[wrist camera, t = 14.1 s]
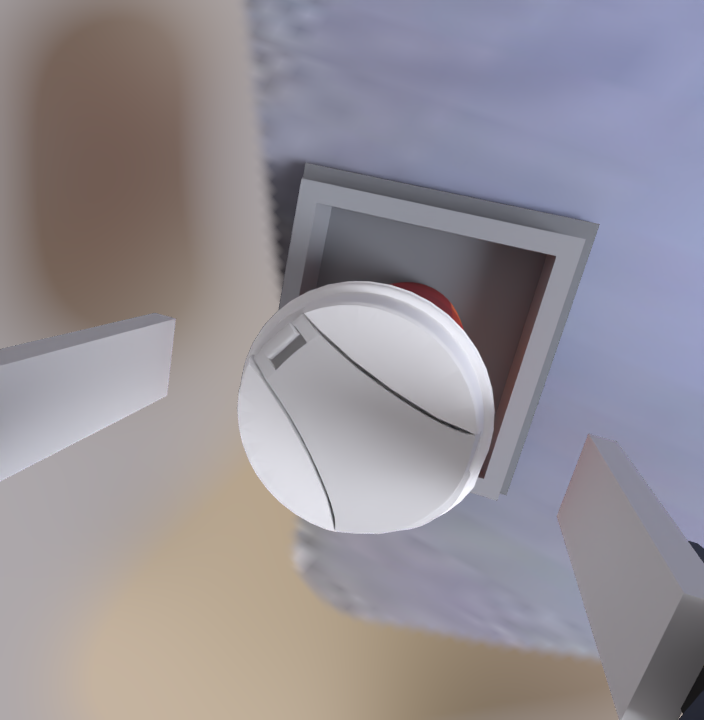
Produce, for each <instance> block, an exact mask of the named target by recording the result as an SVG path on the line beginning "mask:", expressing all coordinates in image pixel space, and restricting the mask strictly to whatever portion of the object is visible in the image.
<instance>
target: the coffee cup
mask: <svg viewBox="0 0 704 720" xmlns="http://www.w3.org/2000/svg"><path fill="white" fill-rule="evenodd" d="M237 411H238V425H239V430H240V435H241V439H242V444H243V447H244V449H245V452H246V454H247V457H248V459H249V462H250V463H251V465H252V467H253V469H254V471H255V472H256V474H257V476H258V477H259V479H260V480H261V481H262V483H263V484H264V485H265V486H266V488H267V489H268V490H269V492H270V493H272V495H274V497H275V498H276V499H277V500H278V501H279V502H280V503H282V504H283V505H284V506H285V507H287V508H288V509H289V510H291V511H292V512H293V513H294V514H296V515H298V516H300V517H301V518H303V519H305V520H306V521H308V522H310V523H312V524H315V525H317V526H319V527H322V528H324V529H327V530H331V531H336V532H346V533H357V534H381V533H387V532H394V531H398V530H407V529H413V528H416V527H420V526H422V525H424V524H426V523H428V522H430V521H432V520H433V519H435V518H437V517H439V516H441V515H442V514H444V513H446V512H447V511H449V510H450V509H451V508H453V507H454V506H455V505H457V504H458V503H459V502H461V501H462V500H463V498H464V497H465V496H466V495H467V494H468V493H469V492H470V491H471V490H472V489H473V488H474V486H475V483H476V481H477V478H478V475H479V473H480V470H481V467H482V465H483V463H484V460H485V458H486V456H487V453H488V451H489V448H490V444H491V439H492V435H493V431H494V414H495V408H494V399H493V391H492V386H491V383H490V379H489V376H488V373H487V369H486V367H485V365H484V363H483V361H482V358H481V356H480V354H479V352H478V350H477V348H476V347H475V345H474V344H473V343H472V341H471V340H470V338H469V337H468V336H467V334H466V333H465V331H464V329H463V326H462V323H461V320H460V318H459V316H458V313H457V311H456V310H455V308H454V306H453V305H452V304H451V302H450V301H449V300H448V299H447V298H446V297H445V296H444V295H443V294H441V293H440V292H439V291H437V290H435V289H434V288H432V287H429V286H427V285H424V284H420V283H414V282H400V283H392V284H383V283H377V282H371V281H347V282H341V283H335V284H328V285H325V286H322V287H319V288H316V289H314V290H311V291H308V292H306V293H304V294H302V295H300V296H299V297H297V298H295V299H293V300H291V301H290V302H289V303H287V304H286V305H285V306H284V307H282V308H281V309H280V310H278V311H277V312H276V313H275V314H274V315H273V316H272V317H271V318H270V320H269V321H268V322H267V323H266V324H265V325H264V326H263V328H262V329H261V331H260V332H259V334H258V335H257V337H256V338H255V340H254V342H253V344H252V346H251V348H250V351H249V353H248V355H247V358H246V361H245V365H244V369H243V373H242V379H241V384H240V388H239V395H238V406H237Z"/></svg>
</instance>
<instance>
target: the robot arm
mask: <svg viewBox="0 0 704 720" xmlns="http://www.w3.org/2000/svg"><path fill="white" fill-rule="evenodd" d="M175 321H176V319H175V318H172V317H168V316H164V315H161V314H157V313H152V314H148V315H144V316H140V317H135V318H131V319H127V320H122V321H118V322H114V323H110V324H105V325H101V326H97V327H93V328H88V329H84V330H80V331H76V332H71V333H67V334H63V335H59V336H54V337H50V338H45V339H41V340H37V341H33V342H28V343H24V344H20V345H15V346H11V347H7V348H2V349H0V481H2V480H4V479H6V478H8V477H10V476H12V475H14V474H16V473H18V472H20V471H22V470H24V469H26V468H27V467H29V466H31V465H33V464H35V463H37V462H39V461H41V460H43V459H45V458H47V457H49V456H51V455H53V454H54V453H57V452H59V451H61V450H62V449H64V448H66V447H68V446H70V445H72V444H74V443H76V442H78V441H80V440H82V439H84V438H86V437H88V436H90V435H92V434H94V433H95V432H97V431H99V430H101V429H103V428H105V427H107V426H109V425H111V424H113V423H115V422H117V421H119V420H121V419H123V418H125V417H127V416H128V415H131V414H132V413H134V412H136V411H138V410H140V409H142V408H144V407H146V406H148V405H150V404H152V403H154V402H156V401H158V400H160V399H162V398H164V397H166V396H167V392H168V383H169V374H170V364H171V357H172V348H173V339H174V330H175ZM557 518H558V521H559V525H560V528H561V531H562V535H563V538H564V541H565V544H566V548H567V551H568V554H569V557H570V561H571V564H572V567H573V570H574V574H575V577H576V580H577V584H578V587H579V590H580V593H581V597H582V600H583V603H584V606H585V610H586V613H587V616H588V619H589V623H590V626H591V629H592V633H593V636H594V639H595V642H596V646H597V649H598V652H599V655H600V659H601V662H602V665H603V668H604V672H605V675H606V678H607V682H608V685H609V688H610V691H611V695H612V698H613V701H614V704H615V708H616V711H617V714H618V717H619V720H678V719H679V720H704V548H702V547H701V546H700V545H699V544H697V543H694V542H691V541H688V540H687V539H686V538H685V536H684V535H683V533H682V532H681V531H680V529H679V528H678V526H677V525H676V524H675V522H674V521H673V519H672V518H671V517H670V515H669V514H668V512H667V511H666V510H665V508H664V507H663V505H662V504H661V503H660V501H659V500H658V498H657V497H656V496H655V494H654V493H653V491H652V490H651V489H650V487H649V486H648V484H647V483H646V482H645V480H644V479H643V477H642V476H641V475H640V473H639V472H638V470H637V469H636V468H635V466H634V465H633V463H632V462H631V461H630V459H629V458H628V456H627V455H626V454H625V452H624V451H623V450H622V448H621V447H620V445H619V444H618V443H617V441H613V440H610V439H606V438H602V437H599V436H595V435H592V434H588V437H587V439H586V442H585V444H584V447H583V450H582V452H581V455H580V457H579V460H578V463H577V465H576V468H575V470H574V473H573V476H572V478H571V481H570V483H569V486H568V489H567V491H566V494H565V496H564V499H563V502H562V504H561V507H560V509H559V512H558V515H557ZM681 713H683V715H682V716H681V717H680V715H681ZM679 717H680V718H679Z"/></svg>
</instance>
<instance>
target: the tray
mask: <svg viewBox="0 0 704 720" xmlns="http://www.w3.org/2000/svg"><path fill="white" fill-rule="evenodd" d="M599 225H600V224H596V223H592V222H587V221H582V220H577V219H572V218H568V217H563V216H558V215H553V214H549V213H544V212H539V211H534V210H529V209H525V208H520V207H515V206H510V205H505V204H501V203H496V202H491V201H486V200H482V199H477V198H472V197H467V196H462V195H458V194H453V193H448V192H443V191H438V190H434V189H429V188H424V187H419V186H415V185H410V184H405V183H400V182H395V181H391V180H386V179H381V178H376V177H371V176H367V175H362V174H357V173H352V172H348V171H343V170H338V169H333V168H328V167H324V166H319V165H314V164H309V163H305V168H304V174H303V178H302V179H301V184H300V190H299V196H298V201H297V207H296V213H295V219H294V224H293V230H292V236H291V241H290V247H289V253H288V259H287V264H286V270H285V276H284V281H283V287H282V293H281V299H280V304H279V310H280V309H281V308H282V307H284V306H285V305H286V304H287V303H289V302H290V301H291V300H293V299H295V298H297V297H299V296H300V295H302V294H304V293H306V292H308V291H311V290H314V289H316V288H319V287H322V286H325V285H328V284H335V283H341V282H347V281H371V282H377V283H383V284H392V283H400V282H414V283H420V284H424V285H427V286H429V287H432V288H434V289H435V290H437V291H439V292H440V293H441V294H443V295H444V296H445V297H446V298H447V299H448V300H449V301H450V302H451V304H452V305H453V306H454V308H455V310H456V311H457V313H458V316H459V318H460V320H461V323H462V326H463V329H464V331H465V333H466V334H467V336H468V337H469V338H470V340H471V341H472V343H473V344H474V345H475V347H476V348H477V350H478V352H479V354H480V356H481V358H482V361H483V363H484V365H485V367H486V369H487V373H488V376H489V379H490V383H491V386H492V391H493V399H494V408H495V414H494V431H493V435H492V439H491V444H490V448H489V451H488V453H487V456H486V458H485V460H484V463H483V465H482V467H481V470H480V473H479V475H478V478H477V481H476V483H475V486H474V488H473V489H472V490H471V491H470V493H473V494H477V495H480V496H483V497H486V498H490V499H493V500H496V501H497V500H498V497H499V494H504V495H507V492H508V489H509V486H510V483H511V480H512V477H513V475H514V472H515V469H516V466H517V463H518V460H519V457H520V454H521V451H522V448H523V446H524V443H525V440H526V437H527V434H528V431H529V428H530V425H531V422H532V419H533V416H534V414H535V411H536V408H537V405H538V402H539V399H540V396H541V393H542V390H543V387H544V384H545V382H546V379H547V376H548V373H549V370H550V367H551V364H552V361H553V358H554V355H555V353H556V350H557V347H558V344H559V341H560V338H561V335H562V332H563V329H564V326H565V323H566V321H567V318H568V315H569V312H570V309H571V306H572V303H573V300H574V297H575V294H576V291H577V289H578V286H579V283H580V280H581V277H582V274H583V271H584V268H585V265H586V262H587V260H588V257H589V254H590V251H591V248H592V245H593V242H594V239H595V236H596V233H597V230H598V228H599Z"/></svg>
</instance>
